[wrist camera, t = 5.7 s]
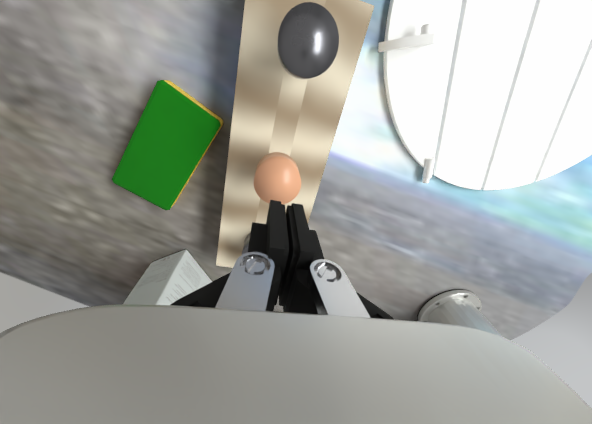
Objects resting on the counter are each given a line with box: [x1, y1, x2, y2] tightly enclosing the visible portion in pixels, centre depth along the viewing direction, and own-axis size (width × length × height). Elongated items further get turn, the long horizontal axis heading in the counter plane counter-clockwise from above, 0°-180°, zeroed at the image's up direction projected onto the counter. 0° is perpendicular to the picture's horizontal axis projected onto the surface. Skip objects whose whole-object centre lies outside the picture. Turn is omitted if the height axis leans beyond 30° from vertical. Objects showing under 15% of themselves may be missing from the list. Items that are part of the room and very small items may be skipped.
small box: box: [123, 250, 212, 305], centre depth 32 cm, size 8×6×13 cm
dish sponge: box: [112, 80, 223, 210], centre depth 28 cm, size 7×14×2 cm, turn 142°
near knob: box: [277, 2, 339, 79], centre depth 19 cm, size 4×4×7 cm
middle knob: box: [254, 152, 301, 204], centre depth 24 cm, size 4×4×7 cm
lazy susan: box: [378, 0, 592, 190], centre depth 24 cm, size 40×39×3 cm
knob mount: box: [216, 0, 374, 268], centre depth 28 cm, size 32×11×4 cm, turn 166°
